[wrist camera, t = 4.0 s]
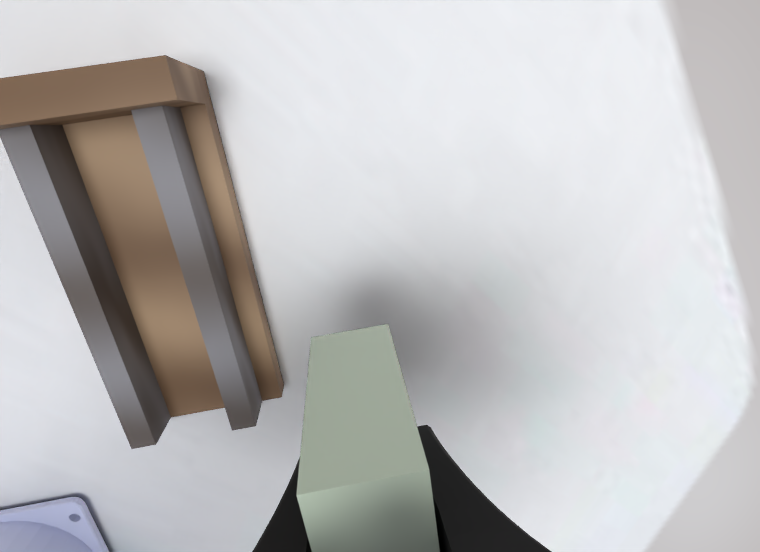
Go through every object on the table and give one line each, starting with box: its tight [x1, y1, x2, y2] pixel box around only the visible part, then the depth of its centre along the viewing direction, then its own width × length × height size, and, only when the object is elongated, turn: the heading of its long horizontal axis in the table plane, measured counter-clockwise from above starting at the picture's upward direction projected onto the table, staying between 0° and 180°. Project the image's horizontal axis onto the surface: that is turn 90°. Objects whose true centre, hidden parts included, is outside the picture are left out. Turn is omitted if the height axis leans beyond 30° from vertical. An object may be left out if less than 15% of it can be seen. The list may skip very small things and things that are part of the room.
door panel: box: [296, 324, 440, 552], centre depth 12 cm, size 7×2×6 cm, turn 8°
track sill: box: [0, 55, 284, 449], centre depth 17 cm, size 14×7×4 cm, turn 8°
